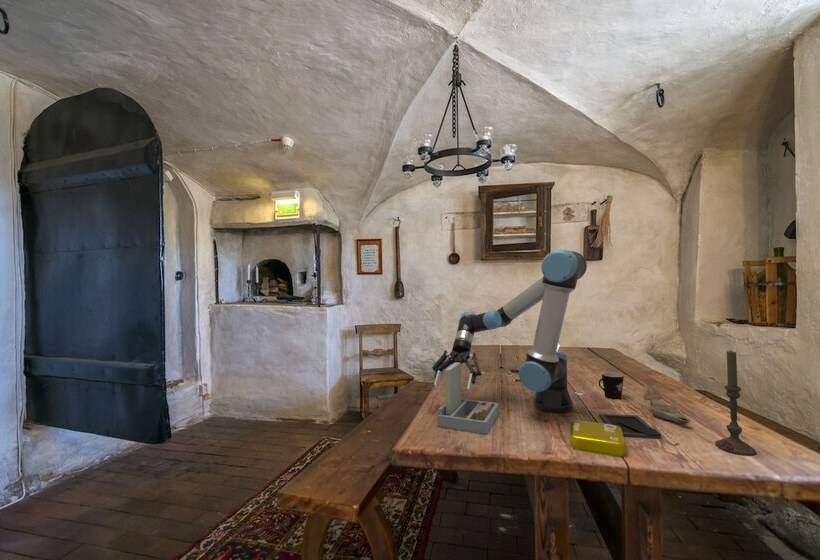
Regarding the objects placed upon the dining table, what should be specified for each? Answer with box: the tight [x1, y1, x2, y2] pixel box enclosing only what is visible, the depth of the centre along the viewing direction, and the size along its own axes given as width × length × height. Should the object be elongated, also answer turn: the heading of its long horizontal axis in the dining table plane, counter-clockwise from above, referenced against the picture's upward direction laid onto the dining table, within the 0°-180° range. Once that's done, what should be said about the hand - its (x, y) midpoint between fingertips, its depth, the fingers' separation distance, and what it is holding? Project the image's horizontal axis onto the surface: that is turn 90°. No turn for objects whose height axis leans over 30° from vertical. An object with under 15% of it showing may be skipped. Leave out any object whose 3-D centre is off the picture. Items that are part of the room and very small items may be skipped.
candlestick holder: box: [714, 349, 757, 457], centre depth 107 cm, size 9×9×30 cm
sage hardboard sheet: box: [444, 362, 463, 416], centre depth 137 cm, size 2×13×20 cm, turn 154°
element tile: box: [569, 419, 627, 458], centre depth 113 cm, size 15×15×5 cm
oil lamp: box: [642, 382, 691, 426], centre depth 131 cm, size 9×21×10 cm, turn 179°
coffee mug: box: [598, 371, 625, 400], centre depth 156 cm, size 12×9×10 cm
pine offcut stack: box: [474, 403, 491, 421], centre depth 133 cm, size 4×9×6 cm, turn 154°
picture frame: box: [598, 413, 662, 440], centre depth 124 cm, size 13×2×18 cm
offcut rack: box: [437, 398, 500, 435], centre depth 134 cm, size 18×21×6 cm
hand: (451, 388), depth 137 cm, fingers open, 13 cm apart
